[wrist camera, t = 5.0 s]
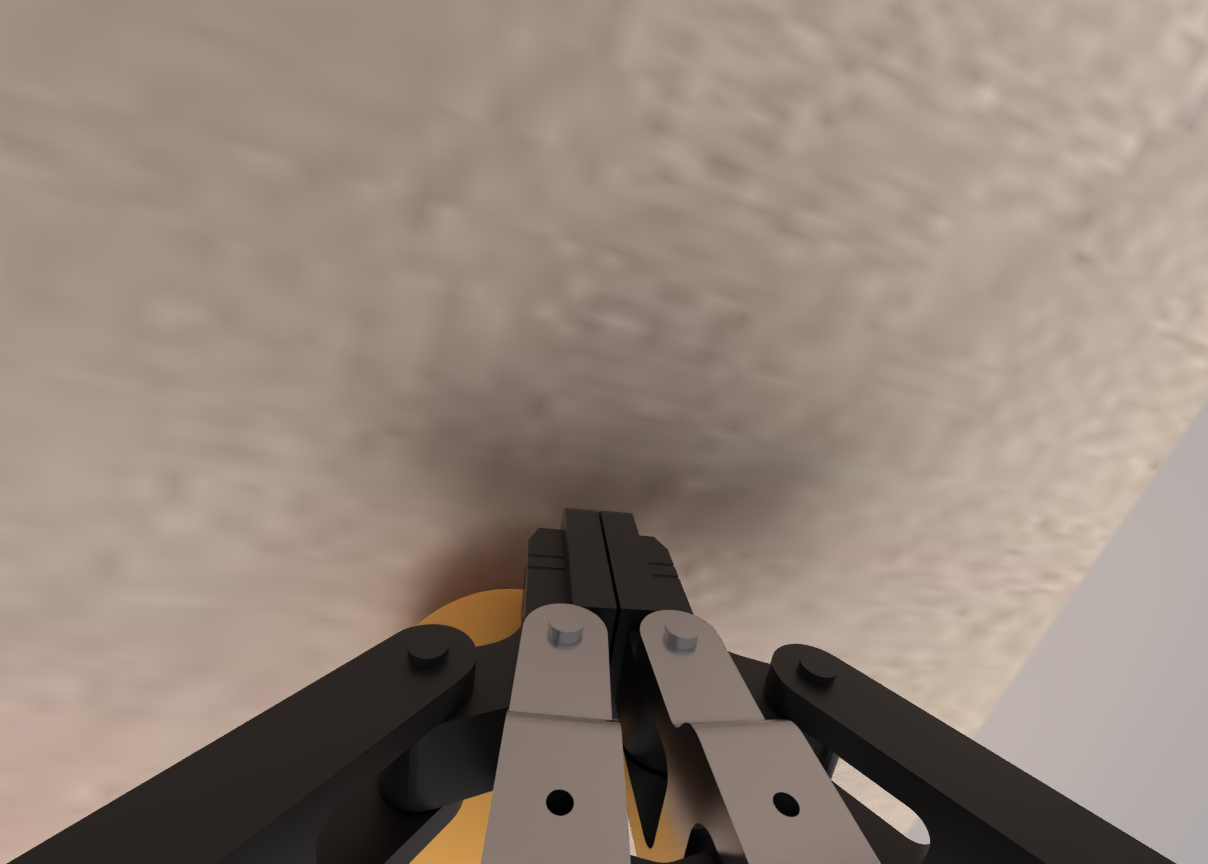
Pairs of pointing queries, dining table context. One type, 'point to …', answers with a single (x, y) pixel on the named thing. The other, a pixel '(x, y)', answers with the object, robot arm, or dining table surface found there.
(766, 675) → the robot arm
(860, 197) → the dining table surface
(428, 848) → the ball
